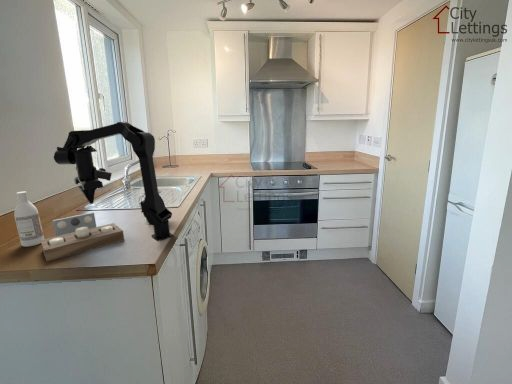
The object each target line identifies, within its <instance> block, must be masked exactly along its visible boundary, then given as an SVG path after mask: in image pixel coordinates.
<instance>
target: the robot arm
mask: <svg viewBox="0 0 512 384" xmlns="http://www.w3.org/2000/svg"><path fill="white" fill-rule="evenodd" d="M120 135H121V137H123V138H124V140H125V141H127V142H128V143H130V144H131V148H132V150H133V152H134V154H135V155H136V156H137V158H138V160H139V167H140V168H139V169H140V173H141V179H142V184H143V185H142V186H143V192H145V195H144V199H143V200H142V201H141V200H140V201H139V203H140V207H141V208H142V209H141V208H140V209H141V213H142V214H143V216H144V217H143V218H145V219H146V218H147V221H148V223H149V225H148V226H153V234H151V237H152V238H153V239H154V240H155V241H162V240H165V239H169V238H171V237H174V236H175V235H174V234H173V233H172V232H171V230H170V222H169V220H170V219H171V218H172V217H173V213H172V211H170V210H169V209H168V208H167V207H166V206H165V202H164V199H163V198H162V197H161V195H160V193H158V187H159V186H158V182H157V175H156V170H155V163H154V153H155V149H156V148H155V147H156V139H155V136H154V135H153V134H151V132H147V131H144V130H143V129H142V128H138V127H136V126H134V125H132V124H131V123H129V122H127V121H117V122H116V123H112V124H109V125H106V126H101V127H97V128H93V129H90V130H89V129H87V130H85V129H83V130H82V129H81V130H71V131H69V132H68V135H67V138H66V141H65V142H64V145H63V146H57V147H56V151H55V152H54V154H53V160H54V162H55V163H56V164H57V165H76V166H75V170H76V172H77V176H75V178H74V179H73V180H74V184H75V185H79V184H80V185H79V186H77V187H78V188H79V190H80V192H81V193H82V194H83V196H84V197H85V198H86V199H85V200H87V201H88V203H89V204H90V205H92V204H94V202H95V194H96V193H95V192H96V191H97V189H103V188H104V185H103V182H102V181H101V179H102V180H106V181H109V182H110V181H111V178H112V173H113V172H109V171H106V168H104V167H100V168H99V169H97V167H96V166H95V165H94V159H93V154H92V153H96V152H97V151H98V150H97V149H96V148H94V147H93V146H92V145H93V144H96V143H97V142H98V141H99V140H102V139H105V138H111V137H115V136H120Z"/></svg>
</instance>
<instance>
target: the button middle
mask: <svg viewBox="0 0 512 384" xmlns="http://www.w3.org/2000/svg"><path fill="white" fill-rule="evenodd" d="M75 231H76V236H77V239H78V238H82V237H86V236H90V234H89V229H88V227H80V228H77V229H76V230H75Z"/></svg>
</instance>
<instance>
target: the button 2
mask: <svg viewBox="0 0 512 384" xmlns="http://www.w3.org/2000/svg"><path fill="white" fill-rule="evenodd" d="M111 230H113V227H112V226H106V227H103V228H101V233H103V232H107V231H111Z"/></svg>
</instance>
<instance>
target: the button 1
mask: <svg viewBox="0 0 512 384" xmlns="http://www.w3.org/2000/svg"><path fill="white" fill-rule="evenodd" d="M62 242H64V240H63V238H54V239H51V240H50V241H49V243H50V245H54V244H58V243H62Z"/></svg>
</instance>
